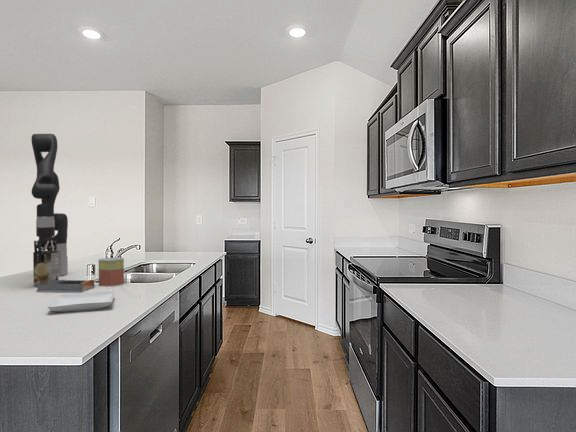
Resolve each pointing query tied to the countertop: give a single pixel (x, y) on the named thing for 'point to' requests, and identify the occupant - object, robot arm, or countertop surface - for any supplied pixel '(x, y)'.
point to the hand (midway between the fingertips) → (46, 261)
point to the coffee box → (46, 267)
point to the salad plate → (81, 301)
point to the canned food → (111, 271)
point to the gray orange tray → (66, 286)
